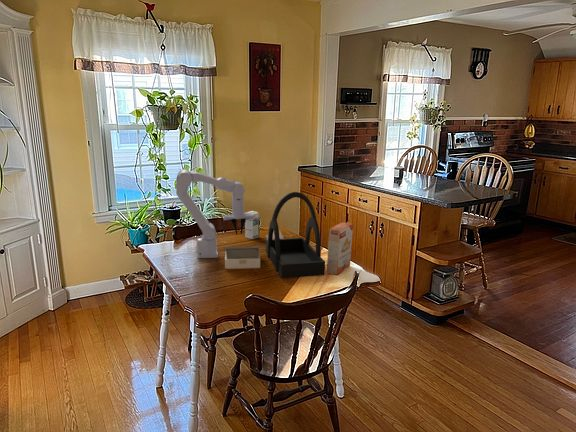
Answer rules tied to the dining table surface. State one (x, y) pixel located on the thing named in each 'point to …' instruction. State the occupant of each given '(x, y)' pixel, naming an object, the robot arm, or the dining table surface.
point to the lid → (242, 248)
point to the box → (242, 258)
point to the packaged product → (274, 236)
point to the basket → (295, 246)
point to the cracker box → (339, 248)
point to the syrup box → (252, 225)
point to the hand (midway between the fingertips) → (238, 233)
